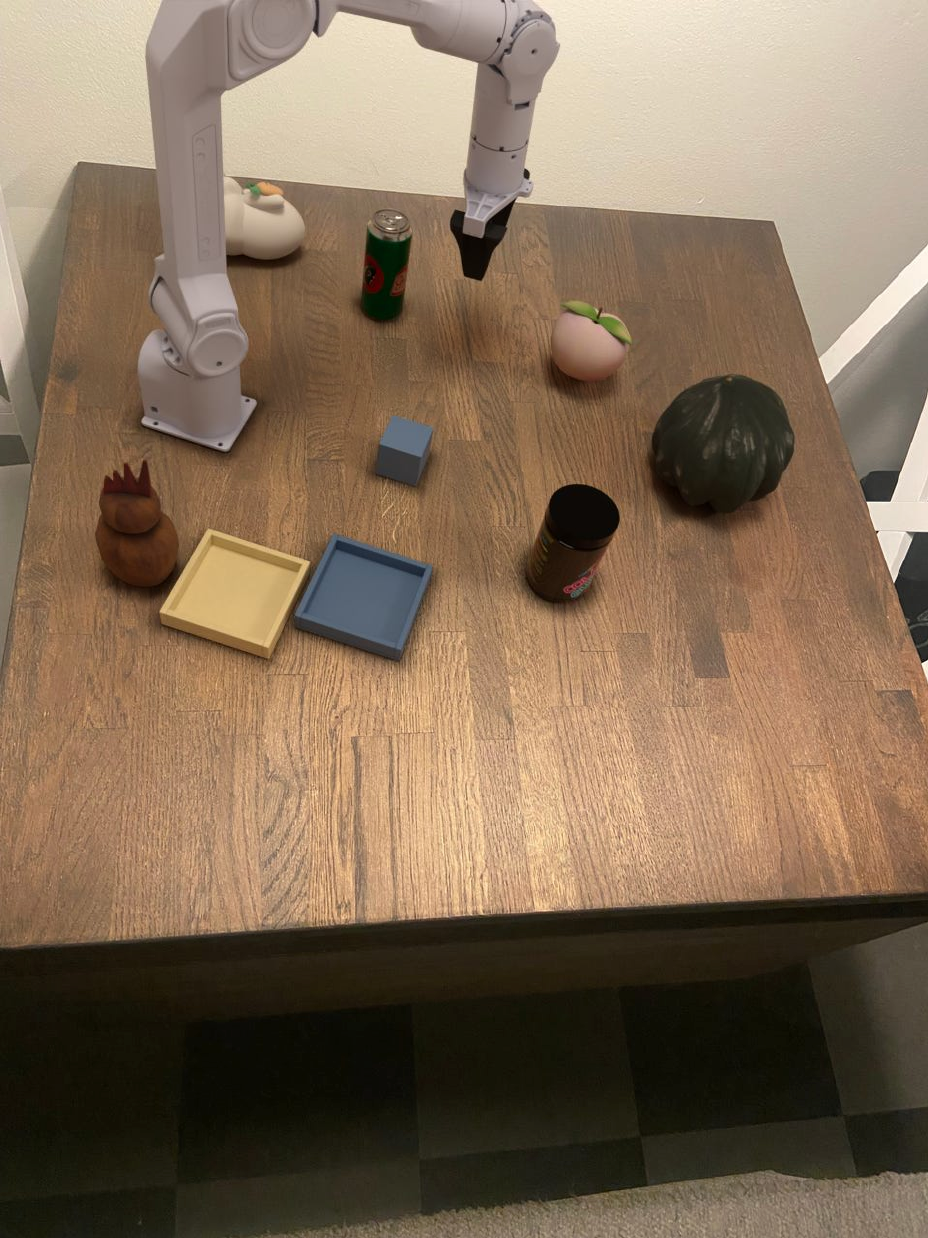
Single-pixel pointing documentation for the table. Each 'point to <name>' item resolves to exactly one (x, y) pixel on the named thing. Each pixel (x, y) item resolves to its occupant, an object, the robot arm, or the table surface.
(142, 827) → the table surface
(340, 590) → the blue tray
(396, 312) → the soda can
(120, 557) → the wooden figurine
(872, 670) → the table surface
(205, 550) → the cream tray
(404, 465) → the blue block
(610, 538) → the supplement container
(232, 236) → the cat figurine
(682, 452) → the squash
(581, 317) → the decorative fruit
